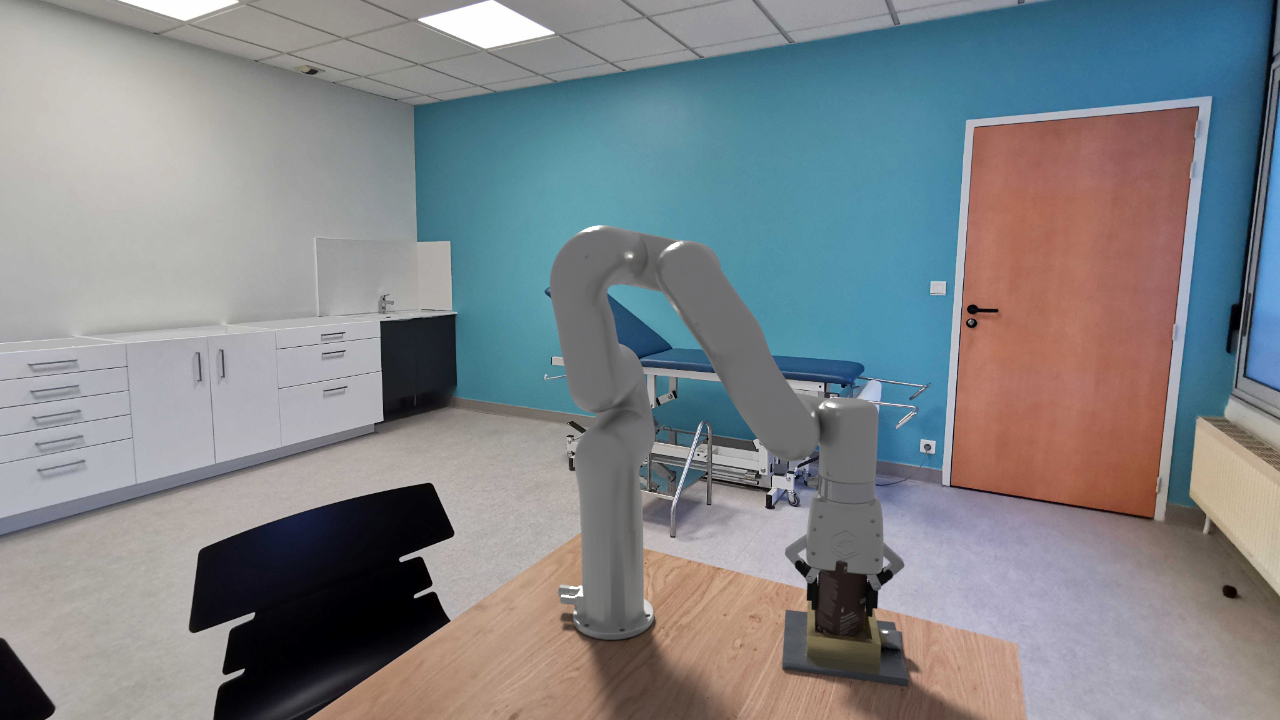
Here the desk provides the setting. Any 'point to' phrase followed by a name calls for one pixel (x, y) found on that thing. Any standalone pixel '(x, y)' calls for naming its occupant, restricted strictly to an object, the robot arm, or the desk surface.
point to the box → (840, 601)
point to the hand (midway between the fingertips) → (841, 607)
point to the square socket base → (844, 650)
